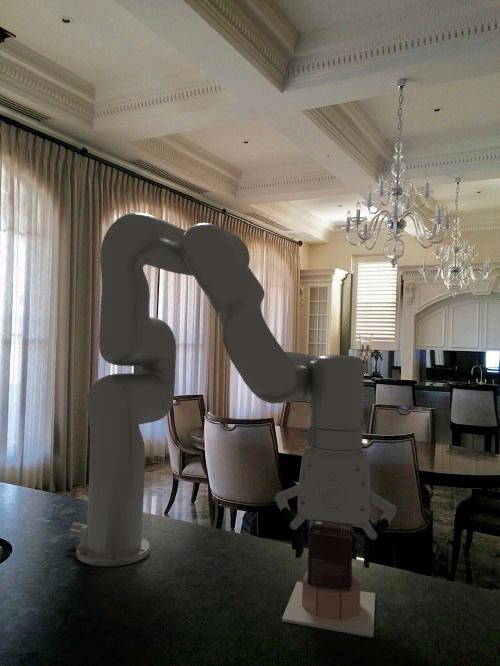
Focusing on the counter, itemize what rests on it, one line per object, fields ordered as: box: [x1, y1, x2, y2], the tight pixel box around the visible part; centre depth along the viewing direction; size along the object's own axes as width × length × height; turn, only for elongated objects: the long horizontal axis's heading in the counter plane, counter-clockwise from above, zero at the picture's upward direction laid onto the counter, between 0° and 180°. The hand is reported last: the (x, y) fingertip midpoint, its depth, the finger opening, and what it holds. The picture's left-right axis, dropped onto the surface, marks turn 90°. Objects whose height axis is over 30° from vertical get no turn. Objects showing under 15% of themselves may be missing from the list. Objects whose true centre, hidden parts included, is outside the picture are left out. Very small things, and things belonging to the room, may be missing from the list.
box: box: [307, 521, 354, 590], centre depth 73 cm, size 6×6×7 cm
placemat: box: [281, 580, 376, 638], centre depth 72 cm, size 12×12×1 cm
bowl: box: [302, 570, 362, 621], centre depth 73 cm, size 8×8×4 cm
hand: (332, 559), depth 73 cm, fingers open, 9 cm apart
